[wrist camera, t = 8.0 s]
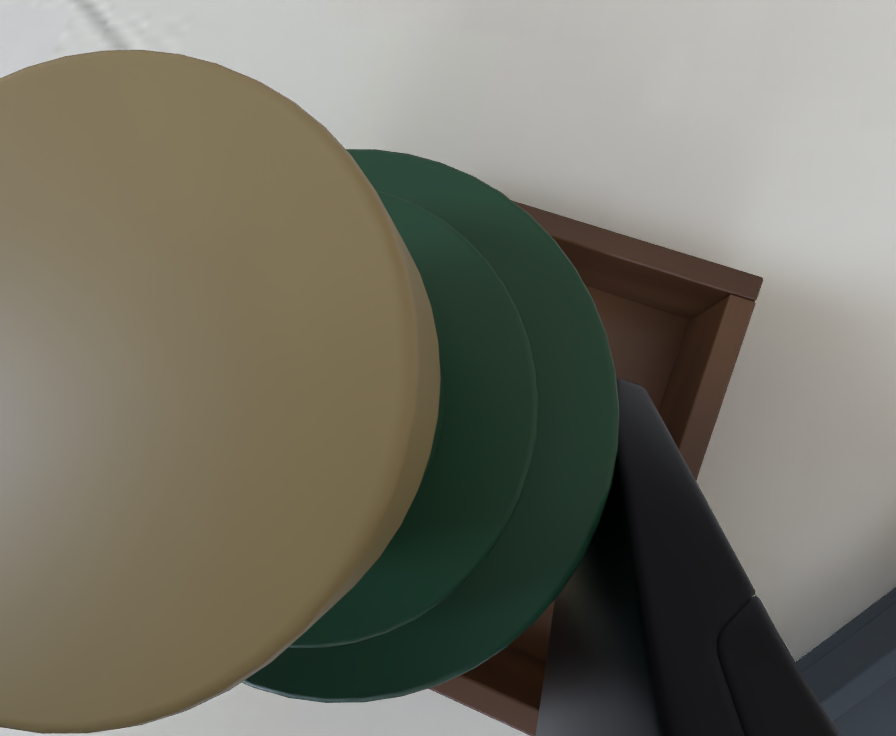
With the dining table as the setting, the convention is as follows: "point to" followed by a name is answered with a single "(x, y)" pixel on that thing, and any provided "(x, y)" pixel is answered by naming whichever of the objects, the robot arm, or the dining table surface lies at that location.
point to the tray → (858, 672)
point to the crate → (643, 363)
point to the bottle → (270, 403)
